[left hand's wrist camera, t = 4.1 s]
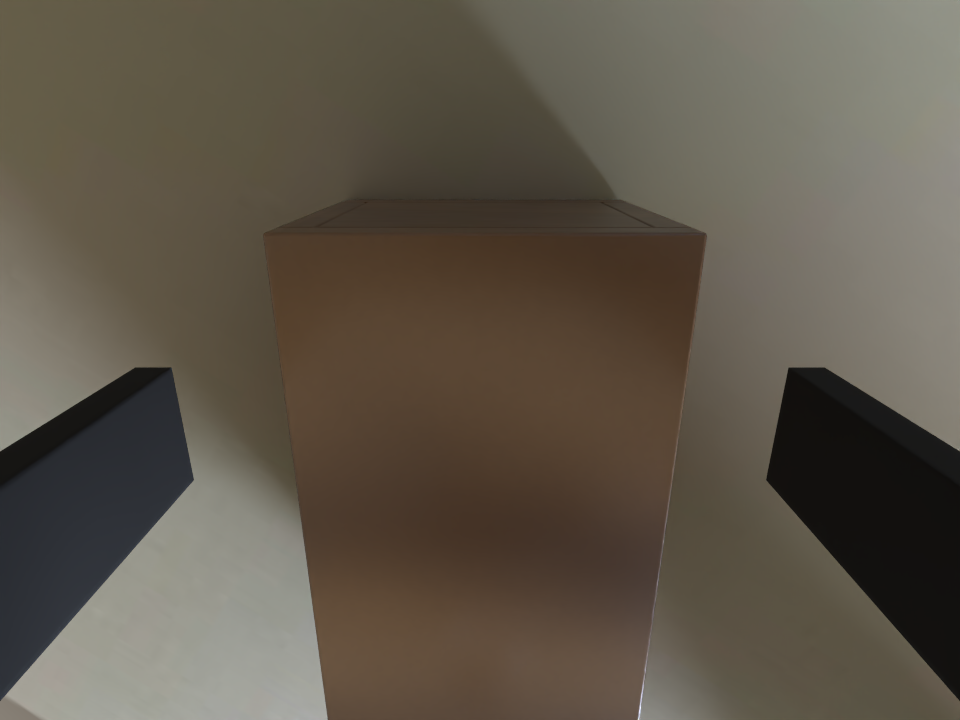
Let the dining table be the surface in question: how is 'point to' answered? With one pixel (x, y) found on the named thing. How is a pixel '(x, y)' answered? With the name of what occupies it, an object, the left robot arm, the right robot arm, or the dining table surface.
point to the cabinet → (484, 447)
